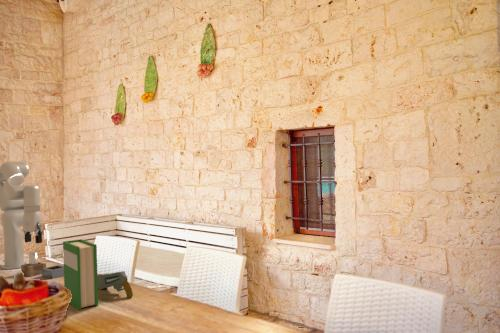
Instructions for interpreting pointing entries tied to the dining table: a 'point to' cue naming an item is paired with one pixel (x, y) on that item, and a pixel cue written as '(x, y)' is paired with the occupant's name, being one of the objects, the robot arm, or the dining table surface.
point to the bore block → (33, 269)
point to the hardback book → (81, 272)
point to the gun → (115, 282)
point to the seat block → (53, 272)
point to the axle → (33, 258)
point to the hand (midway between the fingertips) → (33, 242)
